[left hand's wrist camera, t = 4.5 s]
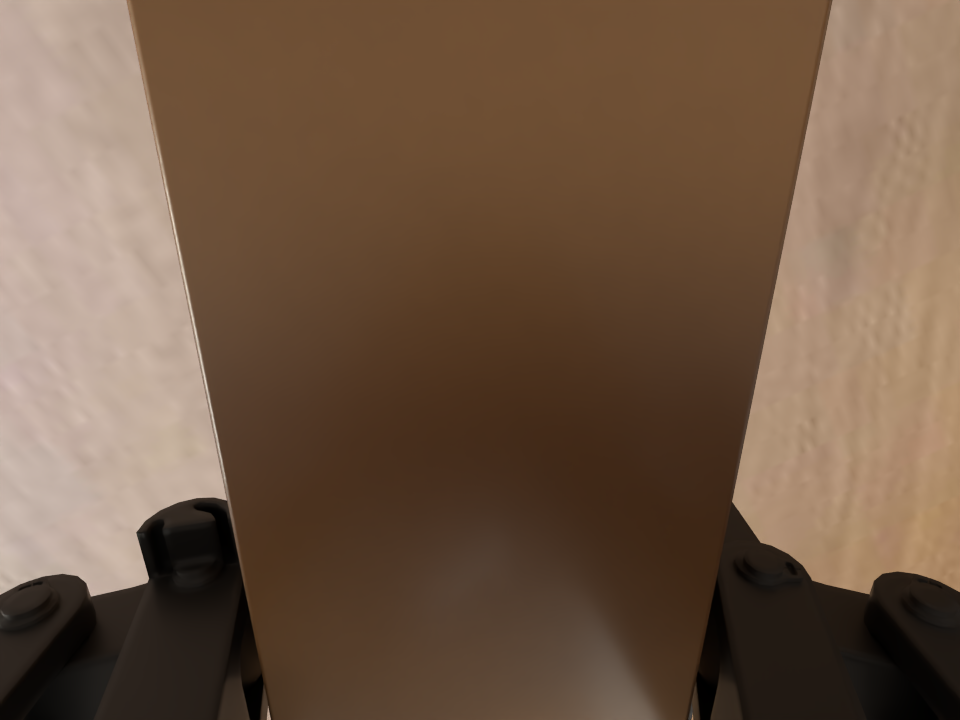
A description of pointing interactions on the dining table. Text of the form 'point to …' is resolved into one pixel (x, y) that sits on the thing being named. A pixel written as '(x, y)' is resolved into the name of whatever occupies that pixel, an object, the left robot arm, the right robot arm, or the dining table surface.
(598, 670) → the bar
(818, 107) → the dining table surface
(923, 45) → the dining table surface
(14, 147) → the dining table surface
